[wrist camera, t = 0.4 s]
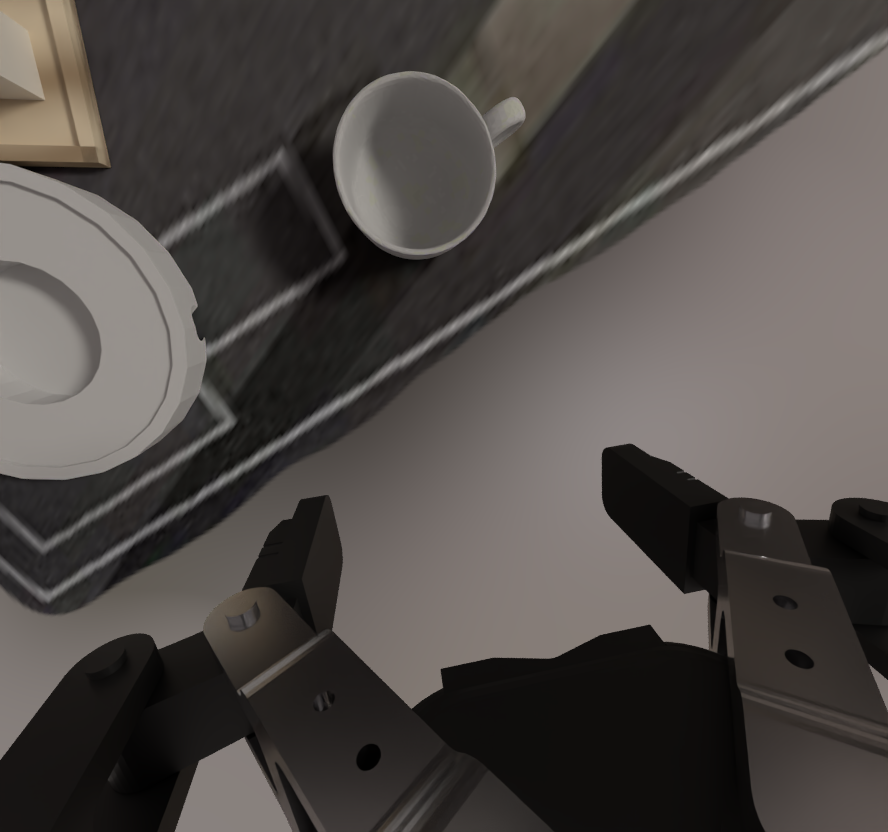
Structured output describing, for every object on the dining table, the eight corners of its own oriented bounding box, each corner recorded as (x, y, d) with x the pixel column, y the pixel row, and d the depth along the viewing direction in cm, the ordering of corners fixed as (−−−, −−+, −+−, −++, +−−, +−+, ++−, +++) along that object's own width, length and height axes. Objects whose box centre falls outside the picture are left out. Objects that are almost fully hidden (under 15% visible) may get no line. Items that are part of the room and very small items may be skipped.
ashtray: (-173, 341, 32) (-247, 348, 29) (-14, 97, 30) (-73, 69, 26) (111, 507, 39) (82, 531, 35) (264, 322, 36) (249, 326, 32)
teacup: (374, 280, 36) (370, 277, 28) (322, 143, 33) (302, 99, 25) (523, 226, 36) (559, 209, 29) (487, 85, 33) (517, 23, 25)
